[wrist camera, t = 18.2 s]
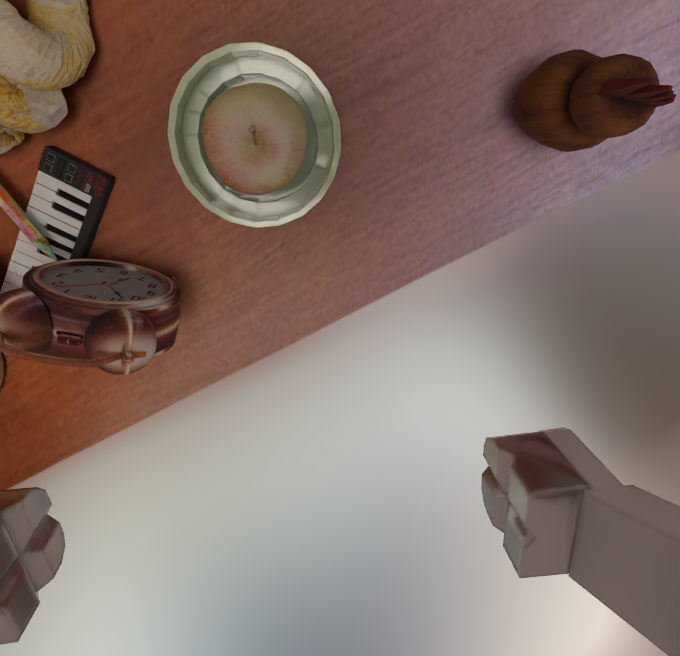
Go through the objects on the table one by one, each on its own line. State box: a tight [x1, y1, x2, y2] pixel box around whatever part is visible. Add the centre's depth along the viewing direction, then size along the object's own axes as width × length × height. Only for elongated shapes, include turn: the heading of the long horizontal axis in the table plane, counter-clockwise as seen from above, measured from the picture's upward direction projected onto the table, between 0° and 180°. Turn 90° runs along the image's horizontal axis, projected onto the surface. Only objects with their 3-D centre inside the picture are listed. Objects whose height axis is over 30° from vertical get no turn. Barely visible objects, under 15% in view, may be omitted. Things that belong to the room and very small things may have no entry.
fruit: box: [202, 83, 308, 195], centre depth 32 cm, size 8×7×8 cm
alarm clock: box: [0, 259, 180, 375], centre depth 33 cm, size 11×5×15 cm, turn 76°
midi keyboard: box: [0, 146, 115, 355], centre depth 38 cm, size 18×1×5 cm
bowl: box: [167, 42, 342, 228], centre depth 34 cm, size 12×12×5 cm
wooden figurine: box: [514, 50, 676, 152], centre depth 30 cm, size 7×6×15 cm
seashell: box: [0, 0, 95, 154], centre depth 31 cm, size 10×6×15 cm
